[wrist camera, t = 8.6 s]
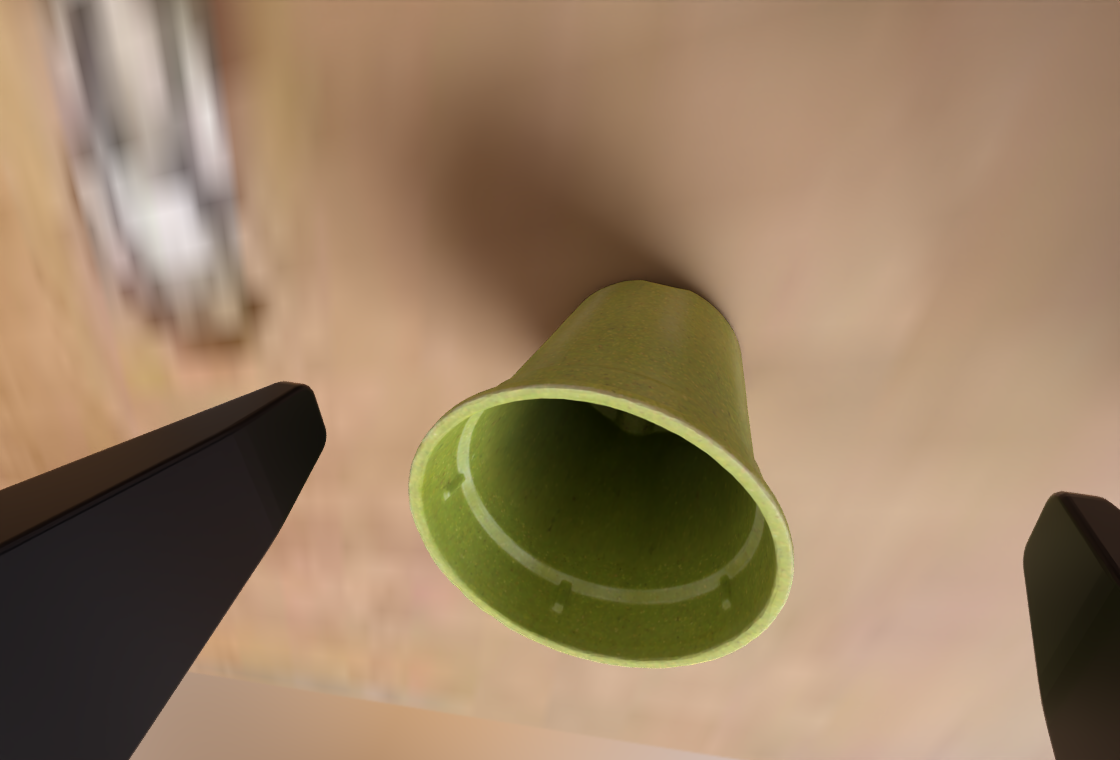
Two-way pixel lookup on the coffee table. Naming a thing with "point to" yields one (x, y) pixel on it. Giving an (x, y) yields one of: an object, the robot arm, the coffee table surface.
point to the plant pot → (612, 489)
